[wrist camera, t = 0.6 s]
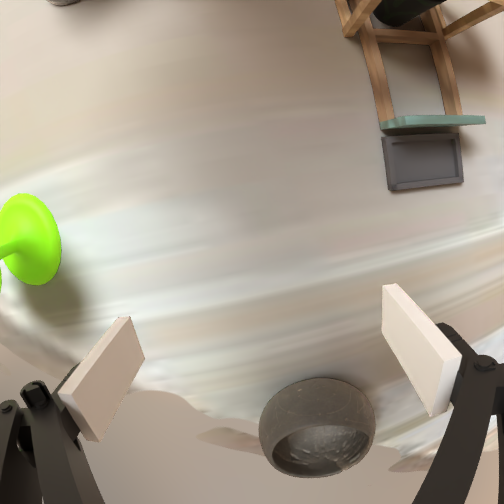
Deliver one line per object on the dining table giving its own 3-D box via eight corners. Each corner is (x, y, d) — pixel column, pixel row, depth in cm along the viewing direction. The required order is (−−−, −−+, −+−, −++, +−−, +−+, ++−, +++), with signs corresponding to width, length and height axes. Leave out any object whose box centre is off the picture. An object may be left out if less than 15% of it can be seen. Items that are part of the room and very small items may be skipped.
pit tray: (381, 137, 37) (385, 136, 35) (452, 133, 36) (458, 132, 34) (388, 189, 39) (392, 190, 37) (458, 181, 38) (463, 182, 36)
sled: (340, -22, 30) (353, -50, 22) (413, -16, 28) (435, -38, 21) (380, 129, 36) (406, 124, 28) (452, 126, 35) (485, 123, 27)
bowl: (357, 425, 51) (371, 475, 39) (263, 434, 52) (262, 487, 40) (368, 352, 46) (392, 405, 34) (255, 363, 47) (252, 422, 35)
